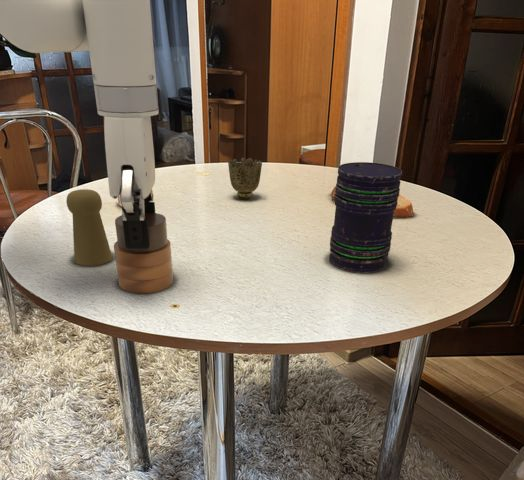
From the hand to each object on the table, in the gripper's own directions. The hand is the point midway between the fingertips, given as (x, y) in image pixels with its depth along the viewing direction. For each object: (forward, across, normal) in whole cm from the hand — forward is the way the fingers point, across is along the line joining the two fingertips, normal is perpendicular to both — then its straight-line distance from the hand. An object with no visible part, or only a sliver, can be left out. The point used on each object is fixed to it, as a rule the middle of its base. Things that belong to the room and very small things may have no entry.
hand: (142, 237), depth 73 cm
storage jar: (+7, -8, +34) cm, 36 cm away
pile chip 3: (+7, 0, 0) cm, 7 cm away
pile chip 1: (+3, 0, 0) cm, 3 cm away
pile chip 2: (+5, 0, 0) cm, 5 cm away
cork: (+7, -9, -10) cm, 15 cm away
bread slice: (+7, -41, +44) cm, 61 cm away
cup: (+7, -45, +16) cm, 48 cm away
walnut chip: (+1, 0, 0) cm, 1 cm away
